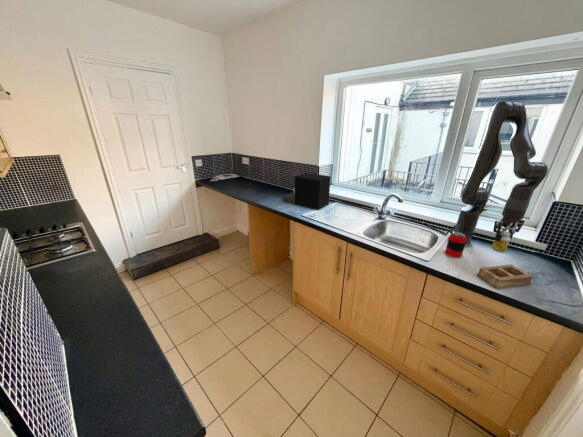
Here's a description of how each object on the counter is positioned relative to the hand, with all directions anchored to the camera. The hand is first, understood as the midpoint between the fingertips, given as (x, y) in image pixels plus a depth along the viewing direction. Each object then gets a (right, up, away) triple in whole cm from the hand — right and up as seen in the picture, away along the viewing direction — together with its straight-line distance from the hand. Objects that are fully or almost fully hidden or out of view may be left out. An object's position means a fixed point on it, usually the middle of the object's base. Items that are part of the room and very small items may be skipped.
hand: (502, 240), depth 115 cm
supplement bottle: (0, -5, +2) cm, 6 cm away
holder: (-4, -17, -5) cm, 18 cm away
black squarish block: (-88, +24, +91) cm, 129 cm away
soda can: (-13, -9, +15) cm, 22 cm away
